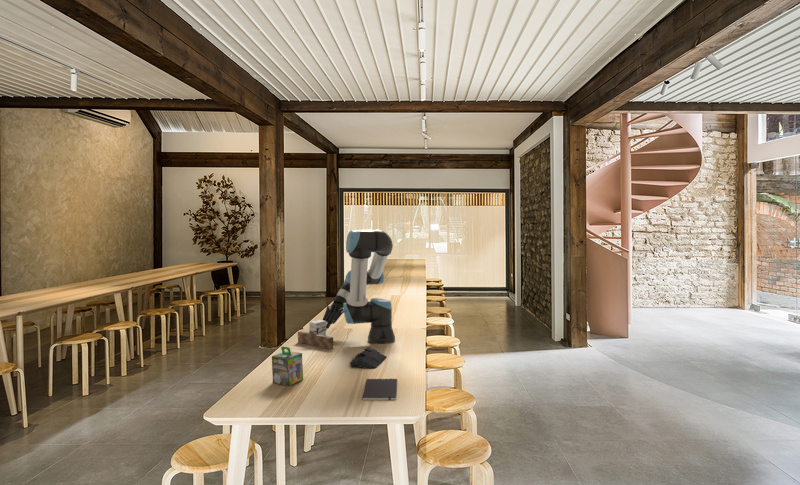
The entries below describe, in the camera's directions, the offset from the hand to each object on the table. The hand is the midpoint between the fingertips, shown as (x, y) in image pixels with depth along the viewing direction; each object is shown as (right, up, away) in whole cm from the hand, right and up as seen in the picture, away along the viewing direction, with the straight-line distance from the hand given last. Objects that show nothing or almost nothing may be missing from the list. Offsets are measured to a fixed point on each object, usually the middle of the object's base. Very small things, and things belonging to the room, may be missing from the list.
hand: (321, 332), depth 272 cm
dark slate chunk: (+28, -6, -43) cm, 52 cm away
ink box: (-1, -4, -5) cm, 7 cm away
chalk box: (-3, -7, -71) cm, 71 cm away
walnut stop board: (-2, -5, -12) cm, 13 cm away
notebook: (+36, -8, -82) cm, 90 cm away
